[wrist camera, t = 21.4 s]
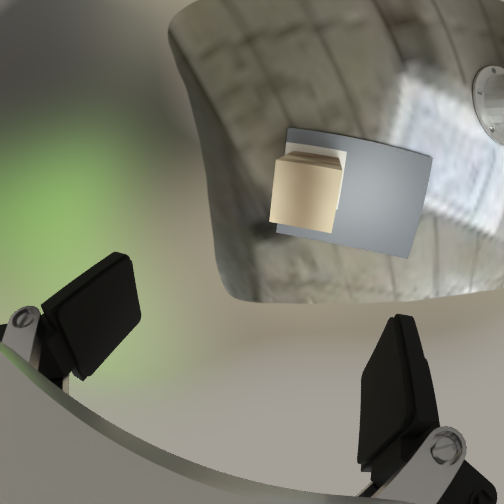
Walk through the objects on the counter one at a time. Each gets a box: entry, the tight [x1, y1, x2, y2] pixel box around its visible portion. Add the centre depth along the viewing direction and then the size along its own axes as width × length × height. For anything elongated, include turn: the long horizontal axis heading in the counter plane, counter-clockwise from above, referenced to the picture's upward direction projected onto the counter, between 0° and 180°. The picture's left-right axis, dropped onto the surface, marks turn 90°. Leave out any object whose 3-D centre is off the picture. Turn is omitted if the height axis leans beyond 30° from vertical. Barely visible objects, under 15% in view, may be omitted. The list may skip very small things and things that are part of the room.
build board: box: [276, 128, 433, 259], centre depth 34 cm, size 20×15×1 cm
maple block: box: [269, 154, 343, 233], centre depth 27 cm, size 6×6×6 cm
